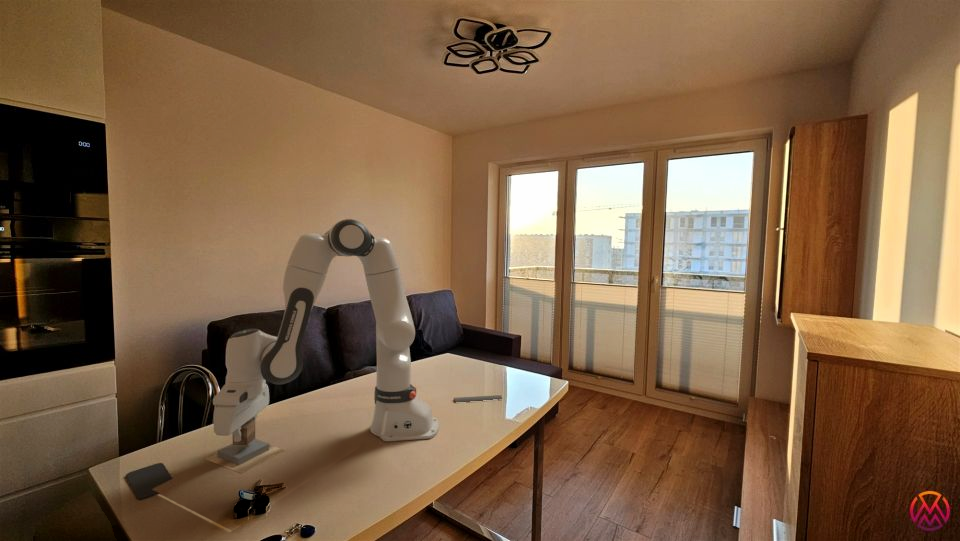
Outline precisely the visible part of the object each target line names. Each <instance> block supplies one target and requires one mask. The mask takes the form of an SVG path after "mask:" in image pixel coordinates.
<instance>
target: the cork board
mask: <svg viewBox="0 0 960 541" xmlns="http://www.w3.org/2000/svg"><path fill="white" fill-rule="evenodd" d="M284 451H286V449H282V448H280V447H277V446H275V445H271V444H269V450H268V451H266V452H264V453H262V454H260V455H258V456H256V457H254V458H252V459H250V460H248V461H246V462H244V463H242V464H240V465H237V464H234V463H232V462H229V461H227V460H224V459H221V458H219V457H217V453H214V454H212V455H210V456H208V457H205V460H206V461H209V462H211V463H214V464H216V465H219V466H221V467H224V468H225V469H229V470H231V471H234V472H236V473H238V474H240V475H241V474H243V473H246V472H248V471H249V470H251V469H252V468H254V467H256V466H258V465H260V464H263V463H264V462H266V461H268V460H270V459H272V458H273V457H276V456H277V455H279V454H281V453H283V452H284Z"/></svg>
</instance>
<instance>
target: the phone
mask: <svg viewBox="0 0 960 541" xmlns="http://www.w3.org/2000/svg"><path fill="white" fill-rule="evenodd" d="M170 473H171V472H169V470H168V469H167V467H166V466H165V464H164V463H163V462H157V463H153V464H151V465H150V464H149V465H148V466H144V467H141V468H139V469H134V470H132V471H129V472H128V473H126V474H125V477H126V481H127V483H128V482H129V483H128V485H129V486H130V488H131V490H133V491H132V492H134V493H133V495H134V494H135V495H134V497H135V499H136V500H138V501H143V500H146V499H149V498H152V497H155V496H157V495H159V494H160V493H159V492H158V491H156V490H154V489H156V488H157V487H160V486H162V485H163V484H165V483H167V482H169V481H171V480H174V479H173V477H172V475H171V474H170Z"/></svg>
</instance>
